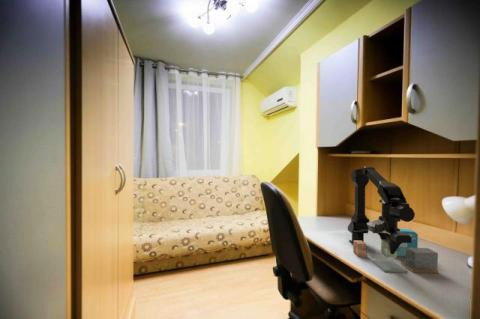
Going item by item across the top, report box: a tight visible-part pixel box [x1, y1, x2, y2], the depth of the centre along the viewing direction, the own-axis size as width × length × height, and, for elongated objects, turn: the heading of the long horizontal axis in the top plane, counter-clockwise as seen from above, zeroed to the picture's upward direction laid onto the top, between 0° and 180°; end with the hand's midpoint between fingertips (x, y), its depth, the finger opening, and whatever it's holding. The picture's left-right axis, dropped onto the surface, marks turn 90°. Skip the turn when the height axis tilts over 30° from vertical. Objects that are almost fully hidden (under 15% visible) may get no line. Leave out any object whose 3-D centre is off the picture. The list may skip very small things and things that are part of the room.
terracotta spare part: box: [352, 240, 367, 257], centre depth 107 cm, size 4×4×6 cm
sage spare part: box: [380, 238, 398, 259], centre depth 95 cm, size 4×4×6 cm
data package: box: [397, 227, 419, 258], centre depth 108 cm, size 12×4×12 cm, turn 77°
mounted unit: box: [400, 247, 440, 274], centre depth 94 cm, size 7×10×8 cm
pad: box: [371, 259, 408, 274], centre depth 95 cm, size 9×9×1 cm
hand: (388, 251), depth 95 cm, fingers closed on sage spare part, 4 cm apart
